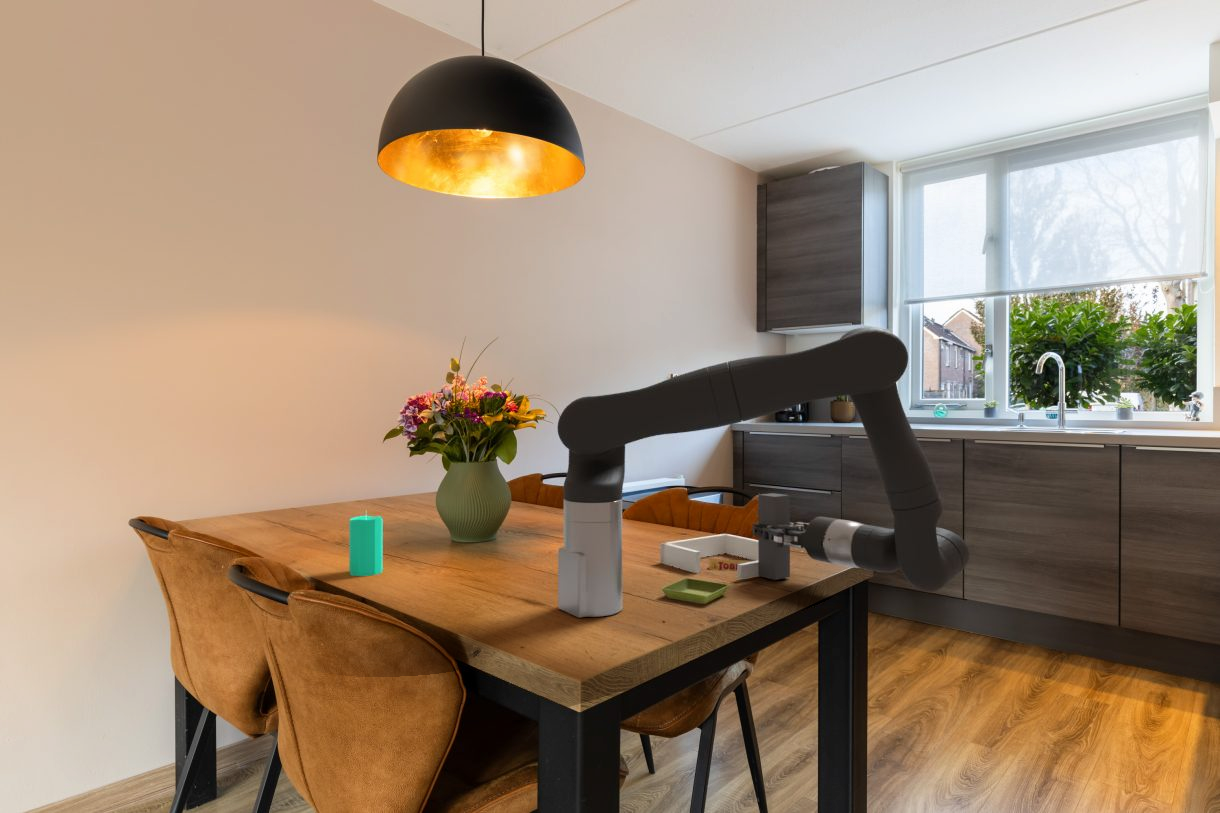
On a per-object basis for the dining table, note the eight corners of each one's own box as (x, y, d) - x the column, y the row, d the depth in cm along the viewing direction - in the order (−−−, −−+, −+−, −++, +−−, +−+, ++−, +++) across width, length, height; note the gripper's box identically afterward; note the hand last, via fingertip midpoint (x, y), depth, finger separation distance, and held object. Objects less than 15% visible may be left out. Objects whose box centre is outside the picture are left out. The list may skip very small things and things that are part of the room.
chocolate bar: (709, 569, 137) (709, 557, 137) (771, 571, 135) (771, 560, 135) (709, 572, 134) (709, 560, 134) (772, 574, 132) (772, 562, 132)
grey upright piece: (757, 583, 122) (757, 498, 122) (737, 578, 126) (737, 495, 126) (805, 573, 129) (805, 493, 130) (784, 568, 134) (784, 490, 134)
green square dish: (706, 609, 109) (706, 596, 109) (659, 600, 114) (659, 588, 114) (730, 597, 116) (730, 584, 116) (685, 589, 121) (685, 577, 121)
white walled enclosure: (695, 573, 131) (695, 552, 131) (660, 563, 140) (660, 543, 140) (762, 560, 142) (762, 541, 142) (725, 551, 150) (725, 533, 150)
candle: (372, 576, 129) (373, 512, 129) (343, 575, 130) (343, 511, 130) (388, 569, 135) (388, 507, 135) (359, 568, 136) (359, 507, 136)
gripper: (865, 515, 120) (787, 504, 134) (812, 523, 112) (735, 511, 126) (865, 559, 120) (787, 543, 134) (812, 570, 112) (735, 552, 126)
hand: (762, 528), depth 130 cm, fingers closed on grey upright piece, 4 cm apart
